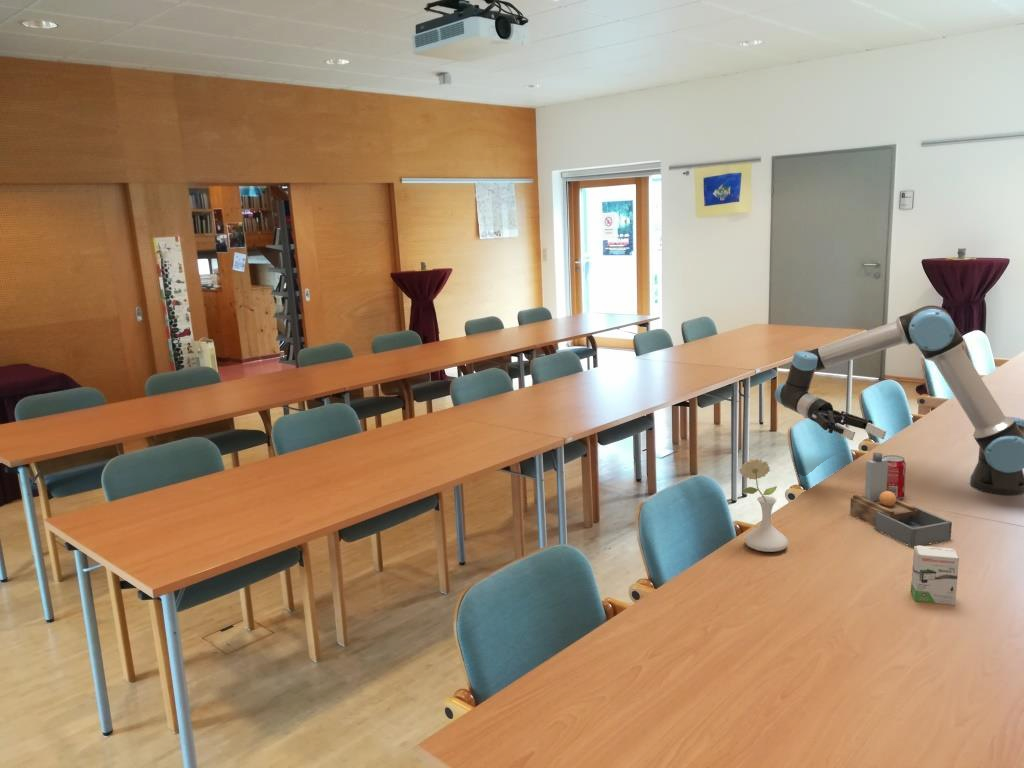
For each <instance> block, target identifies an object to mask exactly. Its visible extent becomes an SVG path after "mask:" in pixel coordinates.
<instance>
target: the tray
mask: <svg viewBox="0 0 1024 768" xmlns="http://www.w3.org/2000/svg"><path fill="white" fill-rule="evenodd" d="M911 506H913V507H916V510H918V514H917V515H915V516H910V517H904V518H899V519H893V518H891V517H889V516H886V515H884V514H882V513H880V512H876V517H875V526H874V529H875V530H876V531H879V532H880V531H881V533H882V532H883V533H882V534H884V535H886V534H887V535H886V536H888V535H889V536H888V537H890V536H891V537H890V538H892V539H894V538H895V539H894V540H896V539H897V541H898V540H899V541H898V542H900V541H901V542H900V543H902V542H903V543H902V544H904V543H905V545H906V544H908V545H909V546H908V545H907V546H908V547H910V546H911V548H914V546H919V545H922V546H925V544H927V545H930V544H929V543H932V544H937V543H941V541H942V542H948V541H950V540H952V538H951V537H952V527H953V525H952V524H953V522H952V521H949V520H947V519H945V518H943V517H941V516H938V515H936V514H933V513H931V512H929V511H926V510H924V509H922V508H920V507H917V506H915V505H912V504H911ZM936 542H937V543H936Z"/></svg>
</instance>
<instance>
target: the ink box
mask: <svg viewBox="0 0 1024 768" xmlns="http://www.w3.org/2000/svg"><path fill="white" fill-rule="evenodd" d="M959 561H960V558H959V555H958V552H957V551H956V550H955V549H954V548H950V547H939V546H938V547H937V546H928V545H926V546H925V545H922V546H915V547H913V558H912V571H911V572H912V573H911V582H910V593H911V596H912V598H913V600H914V601H915V602H922V603H923V602H925V603H933V604H939V605H940V604H941V605H942V604H943V605H951V606H955V605H956V600H957V599H956V598H957V586H958V578H959V577H958V575H959V564H960V563H959Z"/></svg>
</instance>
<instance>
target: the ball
mask: <svg viewBox="0 0 1024 768" xmlns="http://www.w3.org/2000/svg"><path fill="white" fill-rule="evenodd" d="M879 500H880V502H881V504H883V505H884V506H892V505H894V504H895V502H896V496H895V494H894V493H892V492H890V491H884V492H882V493H881V494H880V496H879Z"/></svg>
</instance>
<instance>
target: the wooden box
mask: <svg viewBox="0 0 1024 768" xmlns="http://www.w3.org/2000/svg"><path fill="white" fill-rule="evenodd" d="M913 506H914V505H913ZM913 506H912V504H909V503H906V502H904V501H902V500H897V499H896V502H895V504H894V505H892V506H884V505H883V504H881V502H880V500H879V501H873V502H872V501H870V500H868V499H866V498H865V495H863V496H862V495H861V496H860V495H859V494H857V493H855V494H853V495H852V497H850V509H849V510H850V511H849V513H850V515H852V516H853V517H855V518H857V517H858V518H857V519H860V520H861V521H863V520H864V522H865V521H866V523H867V522H868V523H867V524H869V523H870V524H869V525H871V524H872V525H871V526H873V525H874V527H875V517H876V512H880V513H882V514H884V515H886V516H889V517H891V518H893V519H899V518H904V517H910V516H915V515H917V514H918V510H916V507H917V506H915V507H913Z"/></svg>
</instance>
